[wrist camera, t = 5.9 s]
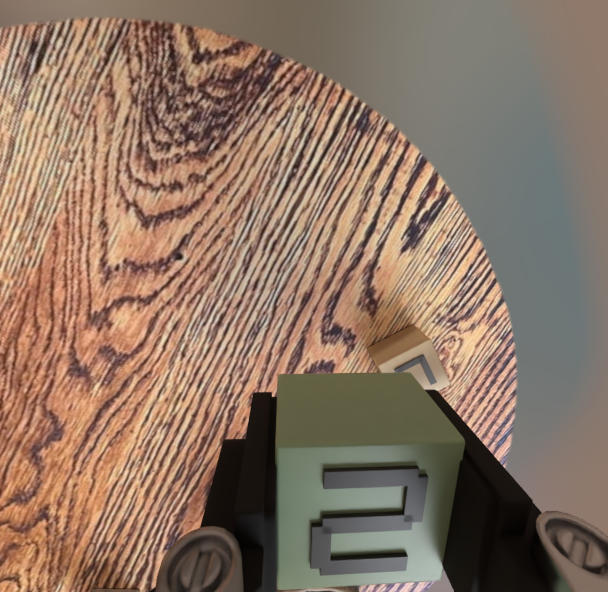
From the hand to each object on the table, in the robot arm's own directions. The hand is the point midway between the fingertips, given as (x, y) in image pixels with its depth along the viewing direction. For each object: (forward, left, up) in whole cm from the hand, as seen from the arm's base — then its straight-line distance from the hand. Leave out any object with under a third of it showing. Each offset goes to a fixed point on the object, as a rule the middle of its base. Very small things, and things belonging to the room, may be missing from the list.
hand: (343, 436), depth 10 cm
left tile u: (+7, +4, -14) cm, 17 cm away
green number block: (0, 0, 0) cm, 0 cm away
